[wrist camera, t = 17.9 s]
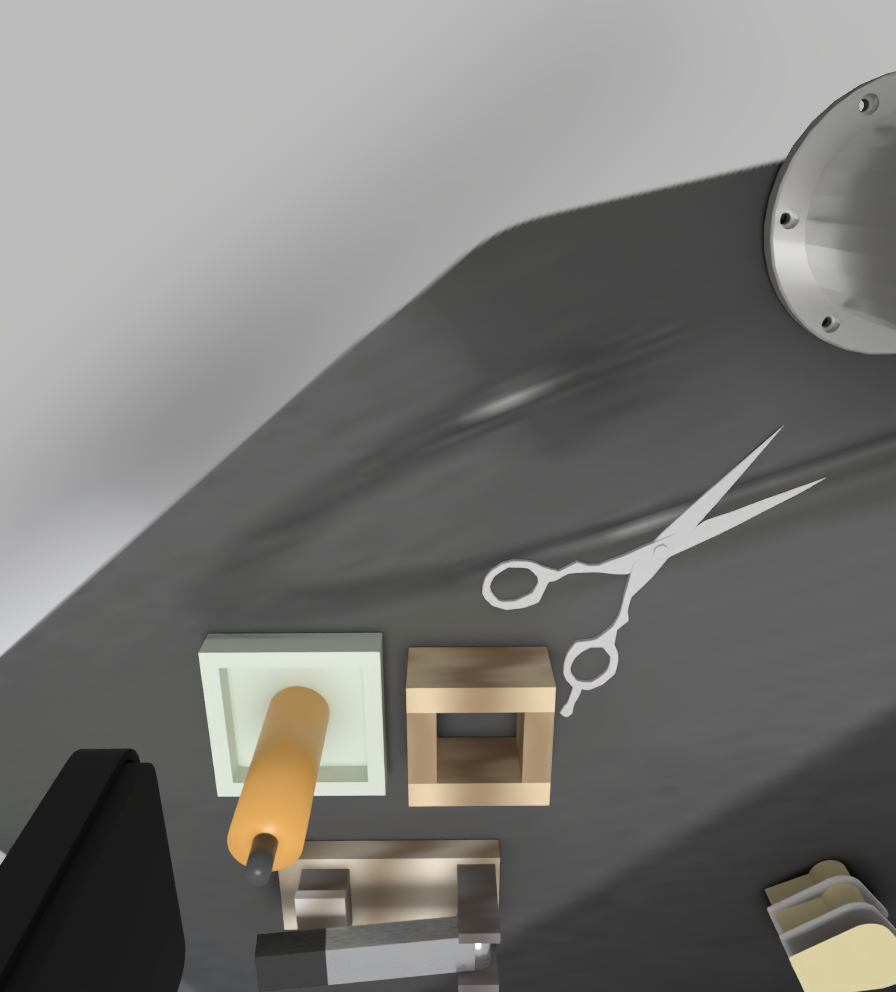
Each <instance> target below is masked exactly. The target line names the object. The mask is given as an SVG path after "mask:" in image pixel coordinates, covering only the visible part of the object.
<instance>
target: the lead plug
mask: <svg viewBox="0 0 896 992" xmlns="http://www.w3.org/2000/svg"><path fill="white" fill-rule="evenodd" d="M329 716H330V711H329V706H328V704H327V702H326V700H325V699H324V698H323V697H322V696H321V695H320V694H319V693H317V692H316V691H314V690H312V689H309V688H306V687H298V686H296V687H289V688H285V689H283V690H281V691H279V692H278V693H277V694H276V695H275V696H274V697H273V698H272V700H271V702H270V704H269V707H268V710H267V713H266V717H265V720H264V723H263V726H262V729H261V732H260V735H259V739H258V742H257V745H256V748H255V751H254V754H253V757H252V761H251V764H250V767H249V770H248V773H247V776H246V779H245V783H244V786H243V789H242V792H241V795H240V798H239V801H238V805H237V808H236V811H235V814H234V817H233V820H232V823H231V827H230V830H229V833H228V837H227V844H228V848H229V850H230V852H231V854H232V855H233V856H234V858H235V859H236V860H237V861H239V862H240V863H241V864H243V865H245V866H246V867H245V870H244V874H243V878H244V880H245V882H246V883H247V884H249V885H251V886H254V887H261V886H264V885H266V884H267V883H268V882H269V880H270V876H271V872H272V871H277V870H281V869H284V868H287V867H289V866H290V865H292V864H293V863H295V862H296V861H297V860H298V858H299V857H300V855H301V853H302V851H303V846H304V841H305V836H306V831H307V826H308V821H309V816H310V811H311V806H312V801H313V796H314V791H315V786H316V781H317V776H318V771H319V766H320V761H321V756H322V751H323V746H324V741H325V736H326V731H327V726H328V721H329Z"/></svg>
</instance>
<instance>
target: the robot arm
mask: <svg viewBox="0 0 896 992" xmlns="http://www.w3.org/2000/svg"><path fill="white" fill-rule="evenodd" d="M860 100H862V101H863V102H864V108H863V110H862V111H861V112H860V110H859V103H860ZM783 213H785V214H786V215H787V219H786V222H785V223H783V224H780V218H781V215H782V214H783ZM764 254H765V259H766V264H767V269H768V274H769V278H770V280H771V282H772V285H773V287H774V290H775V292H776V294H777V297H778V299H779V300H780V301H781V303H782V304H783V306H784V307H785V309H786V310H787V311H788V313H789V314H790V316H791V317H792V318H793V319H794V320H795V321H797V322H798V323H799V324H800V325H801V326H802V327H803V328H804V329H805V330H806V331H808V332H809V333H811V334H813V335H814V336H816V337H818V338H820V339H822V340H823V341H825V342H827V343H829V344H832V345H835V346H837V347H840V348H842V349H845V350H849V351H854V352H859V353H864V354H896V72H892V73H888V74H885V75H883V76H880V77H878V78H876V79H873V80H871V81H868V82H866V83H864V84H861V85H859V86H858V87H856V88H854V89H853V90H852V91H850V92H848V93H847V94H845V95H844V96H842V97H840V98H839V99H837V100H836V101H834V102H833V103H832V104H831V105H830V106H829V107H828V108H827V109H826V110H824V112H822V113H821V114H820V115H819V116H818V117H817V118H816V119H815V120H813V122H811V124H810V125H809V126H808V127H807V129H806V130H805V131H804V133H803V134H802V135H801V136H800V138H799V139H798V140H797V141H796V143H795V144H794V145H793V147H792V149H791V150H790V152H789V154H788V156H787V158H786V159H785V161H784V163H783V165H782V166H781V168H780V170H779V172H778V175H777V178H776V180H775V183H774V186H773V189H772V191H771V194H770V197H769V201H768V206H767V212H766V218H765V223H764ZM826 317H827V320H828V321H827V323H826V324H825V325H823V326H822V322H823V320H824V319H825V318H826ZM184 960H185V939H184V933H183V928H182V922H181V916H180V910H179V904H178V898H177V893H176V887H175V881H174V875H173V869H172V863H171V858H170V852H169V846H168V840H167V834H166V829H165V823H164V817H163V811H162V805H161V799H160V794H159V788H158V782H157V776H156V772H155V768H154V766H153V765H152V764H151V763H140V760H139V757H138V754H137V753H136V751H135V750H133V749H79V750H77V751H75V752H74V753H73V754H72V755H71V757H70V758H69V759H68V761H67V762H66V764H65V765H64V767H63V768H62V770H61V772H60V773H59V775H58V776H57V778H56V779H55V781H54V782H53V784H52V786H51V787H50V789H49V790H48V792H47V793H46V795H45V796H44V798H43V800H42V801H41V803H40V804H39V806H38V807H37V809H36V810H35V812H34V814H33V815H32V817H31V818H30V820H29V821H28V823H27V825H26V826H25V828H24V829H23V831H22V832H21V834H20V835H19V837H18V839H17V840H16V842H15V843H14V845H13V846H12V848H11V849H10V851H9V853H8V854H7V856H6V857H5V859H4V861H3V862H2V864H1V865H0V992H177V991H178V987H179V984H180V981H181V977H182V973H183V968H184Z"/></svg>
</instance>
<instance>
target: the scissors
mask: <svg viewBox="0 0 896 992" xmlns="http://www.w3.org/2000/svg"><path fill="white" fill-rule="evenodd" d="M783 426H784V425H783ZM783 426H782V427H783ZM782 427H781V428H782ZM781 428H780V429H781ZM780 429H779V430H777V431H776V432H775V433H774V434H773V435H772V436H770V437H769V438H768V439H767V440H766V441H765V442H763V443H762V444H761V445H760V446H759V447H758V448H756V449H755V450H754V451H753V452H752V453H751V454H749V455H748V456H747V457H746V458H745V459H743V460H742V461H741V462H740V463H739V464H738V465H736V466H735V467H734V468H733V469H732V470H731V471H729V472H728V473H727V474H726V475H725V476H724V477H722V478H721V479H720V480H719V481H718V482H717V483H715V484H714V485H713V486H712V487H711V488H710V489H708V490H707V491H706V492H705V493H704V494H703V495H702V496H700V497H699V498H698V499H697V500H696V501H695V502H694V503H693V504H692V505H691V506H689V507H688V508H687V509H686V510H685V511H684V512H683V513H682V514H681V515H680V516H679V517H677V518H676V519H675V520H674V521H673V522H672V523H671V524H670V525H669V526H668V527H667V528H665V529H664V530H663V531H662V532H661V533H660V534H659V535H658V536H657V537H656V538H655V539H654V540H653V541H652V542H649V543H646V544H644V545H641V546H639V547H637V548H635V549H633V550H630V551H628V552H626V553H624V554H622V555H619V556H616V557H613V558H610V559H607V560H605V561H602V562H600V563H591V564H587V563H584V562H581V561H577V560H576V561H574V562H572V563H570V564H568V565H566V566H564V567H562V568H560V569H554V568H551V567H547V566H544V565H541V564H539V563H537V562H535V561H532V560H526V559H511V560H507V561H503V562H501V563H499V564H498V565H496V566H495V567H493V568H492V569H490V571H489V572H488V573H487V574H486V575H485V578H484V581H483V587H482V593H483V595H484V597H485V599H486V600H487V601H488V602H489V603H490V604H491V605H493V606H495V607H498V608H502V609H505V610H510V609H518V608H524V607H527V606H530V605H533V604H535V603H538V602H539V601H540V599H541V596H542V594H543V592H544V590H545V588H546V586H547V584H548V582H550V581H556V580H558V579H559V578H561V577H563V576H565V575H566V574H569V573H580V572H602V573H609V574H629V576H628V579H627V583H626V586H625V590H624V593H623V598H622V602H621V606H620V609H619V612H618V615H617V616H616V618H615V620H614V621H613V623H612V625H610V626H609V627H608V628H607V629H605V630H604V631H603V632H602V633H600V634H599V635H598V636H597V637H593V638H588V639H580V640H575V641H574V642H573V644H572V645H571V646H570V647H569V649H568V650H567V652H566V655H565V658H564V662H563V673H564V676H565V678H566V680H567V681H568V682H569V683H570V685H571V686H572V688H571V691H570V694H569V696H568V699H567V702H565V703H564V704H563V706H562V708H561V709H560V713H561V714H562V715H563V716H566V717H568V716H569V715H571V714H572V712H573V706H574V703H575V702H576V700H577V698H578V697H579V695H580V692H581V690H582V689H585V690H590V689H592V688H595V687H597V686H600V685H602V684H604V683H605V682H606V681H607V680H608V679H609V678H611V677H612V676H613V675H614V674H615V671H616V668H617V664H618V652H617V649H616V647H615V644H614V643H615V638H616V633H617V630H618V629H619V628H620V627H621V626H623V625H624V624H625V623H626V622H628V621H629V619H628V607H629V603H630V600H631V597H632V596H633V595H634V594H635V593H636V592H637V591H638V590H639V589H641V588H642V587H643V586H644V585H645V584H646V583H647V582H648V581H649V580H650V579H651V578H652V577H653V576H654V575H655V573H656V572H657V571H658V570H659V568H660V567H661V566H662V565H663V564H664V562H665V561H666V560H667V559H668V557H670V556H673V555H675V554H677V553H679V552H681V551H683V550H686V549H688V548H690V547H692V546H694V545H696V544H699V543H701V542H703V541H705V540H707V539H710V538H712V537H714V536H716V535H718V534H720V533H722V532H724V531H726V530H728V529H730V528H732V527H734V526H736V525H738V524H740V523H742V522H744V521H746V520H748V519H750V518H752V517H754V516H756V515H758V514H759V513H761V512H763V511H765V510H767V509H769V508H771V507H773V506H775V505H777V504H779V503H781V502H783V501H785V500H787V499H789V498H791V497H793V496H795V495H797V494H799V493H801V492H802V491H804V490H806V489H808V488H809V487H811V486H813V485H814V484H816V483H818V482H820V481H821V480H823V479H825V478H823V479H820V480H817V481H815V482H812V483H809V484H806V485H803V486H801V487H798V488H795V489H792V490H789V491H787V492H784V493H781V494H778V495H775V496H773V497H770V498H767V499H764V500H761V501H759V502H756V503H753V504H751V505H748V506H746V507H743V508H741V509H738V510H735V511H733V512H730V513H727V514H724V515H721V516H718V517H715V518H712V519H709V520H706V521H704V522H703V523H701V524H700V525H698V523H699V522H700V521H701V520H702V519H703V518H704V517H705V516H706V514H707V513H708V512H709V511H710V510H711V509H712V508H713V507H714V506H715V504H716V503H717V502H718V501H719V500H720V499H721V498H722V497H723V495H724V494H725V493H726V492H727V491H728V490H729V489H730V487H731V486H732V485H733V484H734V483H735V482H736V480H737V479H738V478H739V477H740V476H741V475H742V473H743V472H744V471H745V470H746V469H747V468H748V467H749V465H750V464H751V463H752V462H753V461H754V460H755V458H756V457H757V456H758V455H759V454H760V453H761V451H762V450H763V449H764V448H765V447H766V446H767V444H768V443H769V442H770V441H771V440H772V439H773V437H774V436H775V435H776V434H777V433H778V432H779V431H780ZM697 525H698V526H697ZM508 567H518V568H527V569H530V570H531V571H532V572H533V573H534V574H535V575H536V576H537V578H538V581H537V583H536V585H535V587H534V588H533V590H532V591H531V592H529V593H527V594H525V595H523V596H521V597H519V598H517V599H509V600H501V599H498V598H497V597H496V596H495V594H494V593H493V592H492V590H491V589H490V583H491V582H492V580H493V578H494V576H496V575H497V574H498V573H500V572H501V571H503V570H504V569H506V568H508ZM590 647H603V648H604V649H605V651H606V652H607V653H608V654H609V656H610V657H609V663H608V665H607V668H606V669H605V670H604V671H603V672H602V673H601V674H599V675H598V676H597V677H595V678H593V679H591V680H581V679H577V678H575V676H574V675H573V674H572V672H571V670H570V668H571V665H572V662H573V660H574V659H575V657H577V656H578V655H579V654H580V653H581V652H583V651H584V650H586V649H588V648H590Z"/></svg>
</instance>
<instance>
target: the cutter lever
mask: <svg viewBox="0 0 896 992" xmlns="http://www.w3.org/2000/svg"><path fill="white" fill-rule="evenodd" d="M490 961H491V943H488V944H459V940H458V916H452V917H441V918H431V919H420V920H409V921H398V922H388V923H377V924H366V925H355V926H345V927H334V928H323V929H312V930H302V931H291V932H280V933H270V934H259V935H258V936H257V944H256V952H255V963H256V971H257V979H258V987H259V992H263V991H272V990H282V989H292V988H302V987H312V986H322V985H332V984H342V983H352V982H362V981H372V980H382V979H392V978H402V977H412V976H422V975H432V974H442V973H452V972H462V971H472V970H476V971H480V970H484V969H485V968H487V967H488V966H489V964H490Z"/></svg>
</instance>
